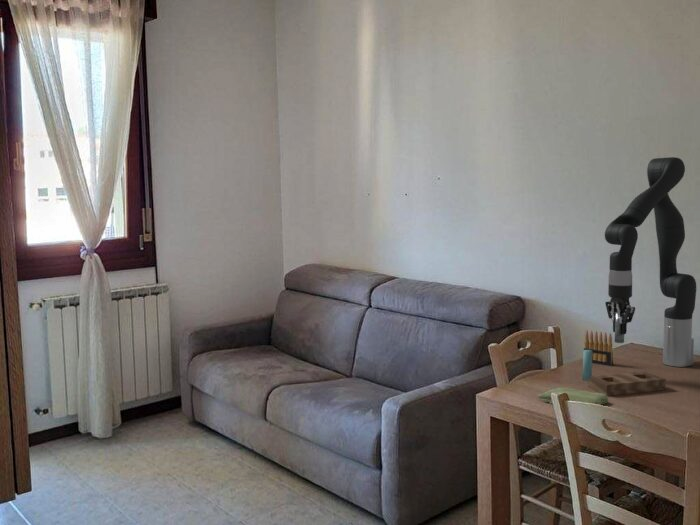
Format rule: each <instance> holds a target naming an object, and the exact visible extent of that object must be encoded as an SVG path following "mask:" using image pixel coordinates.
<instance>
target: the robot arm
mask: <svg viewBox="0 0 700 525" xmlns="http://www.w3.org/2000/svg"><path fill="white" fill-rule="evenodd" d="M646 169H647V170H646V171H647V172H646V174H647V175H646V176H647V181H648V185H649V188H647V189H645V190H644V191H643V192H641V193H640V194H638V195H637V196H635V198H633V200H632V201H631V202H630V203H629V204H628V206H627V207H626V209H625V210H624V212H622V213H620V215H618V217H616V218H615V219H613V220H612V221H611V222H610V223H609V224H608V225H607V227H606V229H605V231H604V240H605V241H606V243H608V244H610V245H615V246H620V248H619V250H618V251H614V252H612V253H610V254H609V273H608V289H607V290H608V291H607V292H608V293H607V294H608V297H609V298H610V300H609V301H605V307H606V311H607V316H608V319H611V321H612V332H613V333H615V313H618V317H619V320H620V326H619V333H620V334H621V335H622V334H624V335H626V334H627V331H628V330H627V328H628V324H629V323H632V322H633V319H634V314H635V312H636V307H635V306H632V305H631V302H630V298H632V296H633V272H632V267H633V266H632V265H633V263H632V262H633V256H634V253H635V249H636V246H637V242H638V238H639V237H638V236H639V235H638V230H637V228H639V227H640V226H642V224H643V223H644V222H645V220H646V219H647V218H648V216H649V215H650V214H651V212H652V210H653V213H654V220H655V230H656V232H655V233H656V239H657V245H658V248H657V249H658V258H659V287H660V291H661V293H662V295H663V296H664V297H667V298H671V299H675V303H674V305H673V306H670V307H666V308H665V309H664V314H663V315H664V316H663V317H664V319H663V348H662V349H663V352H662V364H664V365H666V366H669V367H670V366H671V367H681V368H683V367H684V368H685V367H689V366H691V365H694V350H695V349H694V346H695V344H694V343H695V342H694V341H695V340H694V338H692V334H693V332H692V331H693V314H694V311H695V308H696V300H697V298H696V296H697V281H696V279H695V277H694V276H692V275H691V274H686V273H679V272H678V270H677V258H678V255H679V252H680V251H681V249H682V246H683V244H684V242H685V238H686V231H685V229H686V228H685V221H684V217H683V215H682V214H681V212H680V210H679V209H678V208H677V207H676V205H675V203H673V201H672V199H671V197H670V195H669V193H670V191H671V190H672V189H674V188H675V187H676V186H677V185H678V184H679V182H681V180H682V179H683V178H684V175H685V172H686V166H685V163H684V161H683V160H682V159H681V158H679V157H675V156H674V157H657V158H652V159H650V161H649V162H648V165H647V168H646ZM621 313H625V314H621ZM623 316H624V319H623Z"/></svg>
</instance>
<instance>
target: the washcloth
mask: <svg viewBox="0 0 700 525" xmlns="http://www.w3.org/2000/svg"><path fill="white" fill-rule="evenodd" d="M552 392H565V393H567V394H568V395H569V398H570V400H574V401H582V402H589V403H595V404H603V405H605V404H607V403H608V402H609V398H608V396H606V395H605V394H602V393H599V392H591V391H588V390H581V389H575V388H567V387H557V388H554V389H550V390H546V392H544V393H538V398H539V399H541V402H542V401H544V402H551V397H550V394H551V393H552ZM544 402H543V403H544Z"/></svg>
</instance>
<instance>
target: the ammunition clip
mask: <svg viewBox="0 0 700 525" xmlns="http://www.w3.org/2000/svg"><path fill="white" fill-rule="evenodd" d="M607 335H608V336H607ZM583 343H584V344H583V350H592V364H593V365H594V364H595V365H603V366H607V367H611V366H613V365H614V357H613V356H614V355H613V353H614V352H613V337H612V333H611V332H610V333H609V334H607V332H606V331H605V332H604V334H603V332H602V331H600V332H599V335H598V331H597V330H596V331H595V332H594V333H593V330H590V332H589V331H588V330H587V329H586V330H585V334H584V341H583Z"/></svg>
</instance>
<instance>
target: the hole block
mask: <svg viewBox="0 0 700 525" xmlns="http://www.w3.org/2000/svg"><path fill="white" fill-rule="evenodd" d="M587 383H588V385H587V386H588V388H589V389H591V390H594V391H595V392H596V393H602V394H605V395H606V396H607V397H608V396H619V395H627V394H637V393H647V392H655V391H656V392H657V391H665V390H666V384H667V382H666V378H664V377H661V376H659V375H655V374H653V373H651V372H649V371H645V370H644V371H637V372H636V371H634V372H626V373H625V372H624V373H616V374H615V373H614V374H606V375H596V376H595V375H594V376H593V375H592V377H589V380H588V381H587Z"/></svg>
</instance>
